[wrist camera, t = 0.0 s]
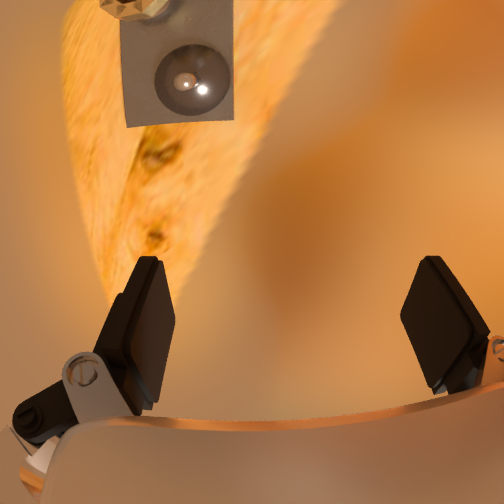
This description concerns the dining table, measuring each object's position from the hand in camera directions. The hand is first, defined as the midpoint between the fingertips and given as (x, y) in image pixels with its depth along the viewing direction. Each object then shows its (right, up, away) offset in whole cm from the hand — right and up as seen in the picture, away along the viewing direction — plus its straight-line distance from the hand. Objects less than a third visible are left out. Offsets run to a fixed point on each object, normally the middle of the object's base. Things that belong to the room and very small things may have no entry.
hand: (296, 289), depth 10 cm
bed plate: (-11, +28, +19) cm, 35 cm away
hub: (-8, +23, +22) cm, 33 cm away
